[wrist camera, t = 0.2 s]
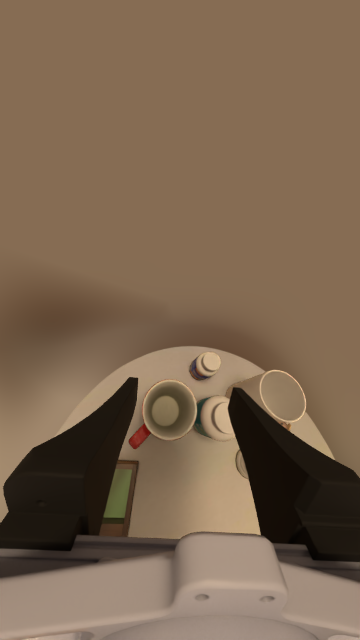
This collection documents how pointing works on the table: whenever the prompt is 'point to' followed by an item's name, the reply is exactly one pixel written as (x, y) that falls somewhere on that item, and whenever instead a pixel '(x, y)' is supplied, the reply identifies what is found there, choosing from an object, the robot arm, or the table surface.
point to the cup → (275, 395)
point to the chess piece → (241, 465)
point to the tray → (120, 500)
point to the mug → (166, 412)
